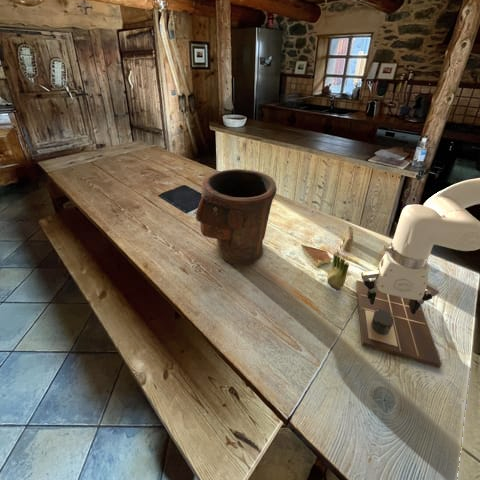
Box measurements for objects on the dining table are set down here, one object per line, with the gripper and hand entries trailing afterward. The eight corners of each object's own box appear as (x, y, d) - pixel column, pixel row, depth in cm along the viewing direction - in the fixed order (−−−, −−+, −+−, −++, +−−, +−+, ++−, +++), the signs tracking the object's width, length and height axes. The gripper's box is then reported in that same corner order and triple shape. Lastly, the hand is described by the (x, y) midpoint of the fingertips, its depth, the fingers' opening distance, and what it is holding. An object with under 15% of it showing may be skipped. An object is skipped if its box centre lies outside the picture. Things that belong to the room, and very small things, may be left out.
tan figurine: (337, 253, 103) (337, 235, 113) (348, 258, 102) (347, 238, 112) (344, 240, 99) (343, 222, 109) (356, 244, 98) (354, 226, 109)
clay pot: (188, 242, 107) (182, 175, 94) (251, 223, 119) (253, 162, 106) (211, 288, 87) (208, 211, 74) (284, 260, 99) (292, 189, 86)
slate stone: (388, 321, 76) (391, 312, 74) (391, 337, 71) (395, 327, 70) (369, 316, 77) (373, 307, 75) (371, 332, 73) (375, 322, 71)
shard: (300, 247, 106) (301, 243, 105) (316, 243, 108) (317, 240, 107) (316, 266, 96) (316, 262, 96) (333, 262, 99) (334, 258, 98)
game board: (415, 297, 85) (417, 293, 84) (439, 368, 66) (441, 364, 65) (355, 283, 90) (356, 279, 89) (362, 345, 71) (363, 341, 70)
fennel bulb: (344, 291, 87) (351, 264, 81) (329, 292, 86) (336, 264, 81) (338, 278, 92) (344, 251, 87) (324, 278, 92) (329, 251, 86)
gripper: (370, 257, 62) (356, 308, 69) (457, 274, 57) (433, 326, 65) (366, 238, 68) (354, 286, 76) (444, 251, 64) (424, 301, 71)
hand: (390, 304), depth 70 cm, fingers open, 9 cm apart
